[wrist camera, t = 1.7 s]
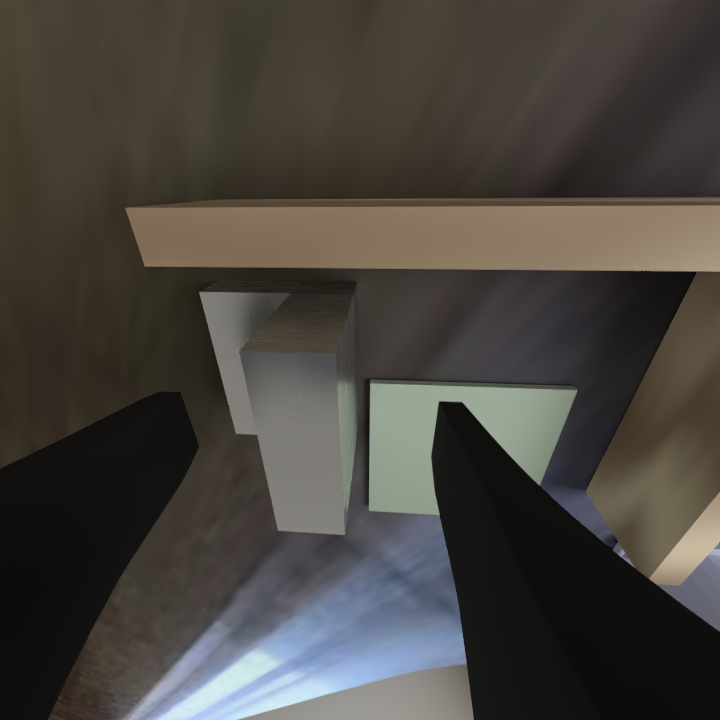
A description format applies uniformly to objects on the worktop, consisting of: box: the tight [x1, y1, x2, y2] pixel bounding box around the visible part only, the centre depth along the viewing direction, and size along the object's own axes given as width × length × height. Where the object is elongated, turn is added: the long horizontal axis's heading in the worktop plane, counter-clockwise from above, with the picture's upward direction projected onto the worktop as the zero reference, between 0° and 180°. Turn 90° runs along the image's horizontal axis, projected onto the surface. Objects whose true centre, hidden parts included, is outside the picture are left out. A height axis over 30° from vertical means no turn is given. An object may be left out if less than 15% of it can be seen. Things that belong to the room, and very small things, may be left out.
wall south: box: [586, 271, 720, 586], centre depth 10 cm, size 12×1×4 cm, turn 0°
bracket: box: [199, 280, 359, 535], centre depth 10 cm, size 6×5×6 cm
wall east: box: [126, 197, 720, 272], centre depth 8 cm, size 1×16×4 cm, turn 90°
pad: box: [369, 379, 578, 515], centre depth 14 cm, size 8×8×1 cm
